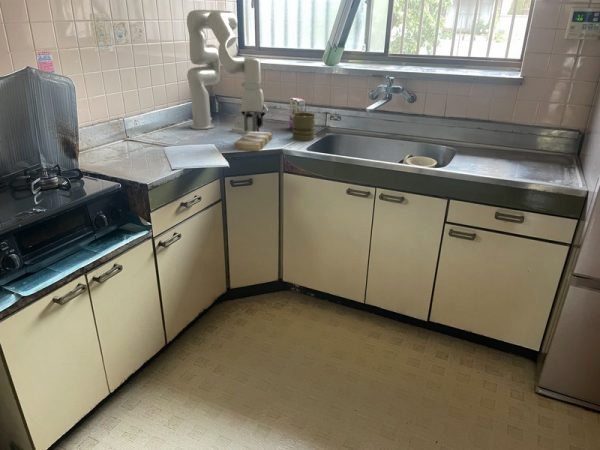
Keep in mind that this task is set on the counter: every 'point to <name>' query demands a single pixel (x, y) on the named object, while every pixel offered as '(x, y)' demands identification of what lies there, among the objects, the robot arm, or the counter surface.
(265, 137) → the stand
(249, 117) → the housing
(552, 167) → the counter surface
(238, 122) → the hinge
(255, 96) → the robot arm
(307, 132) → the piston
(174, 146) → the counter surface
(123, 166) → the counter surface
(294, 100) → the candy bar box
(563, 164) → the counter surface
